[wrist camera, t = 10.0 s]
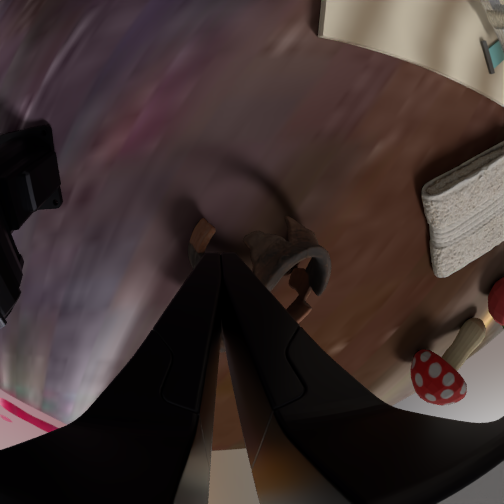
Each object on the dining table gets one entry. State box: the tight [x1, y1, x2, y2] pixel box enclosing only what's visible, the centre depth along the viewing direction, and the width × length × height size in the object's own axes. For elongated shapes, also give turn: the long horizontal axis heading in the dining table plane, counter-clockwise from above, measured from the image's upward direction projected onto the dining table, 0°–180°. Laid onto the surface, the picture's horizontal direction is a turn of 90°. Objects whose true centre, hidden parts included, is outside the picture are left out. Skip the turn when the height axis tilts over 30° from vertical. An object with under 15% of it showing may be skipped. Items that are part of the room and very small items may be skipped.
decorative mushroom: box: [411, 318, 486, 405], centre depth 35 cm, size 11×11×15 cm
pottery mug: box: [188, 216, 331, 352], centre depth 23 cm, size 12×10×8 cm
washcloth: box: [422, 141, 504, 278], centre depth 23 cm, size 12×18×3 cm, turn 119°
